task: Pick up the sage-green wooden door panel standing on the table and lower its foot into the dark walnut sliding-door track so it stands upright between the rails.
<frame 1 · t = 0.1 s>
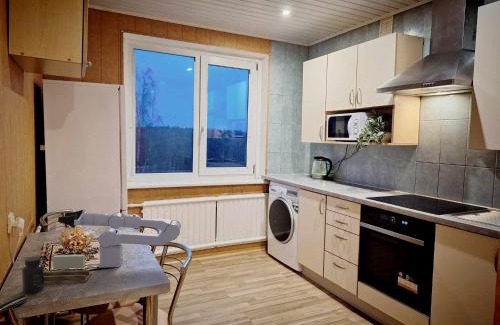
hand: (61, 217, 149), 22 cm above the table, tool horizontal, fingers open, 7 cm apart
door track: (64, 279, 137), on the table
door panel: (69, 269, 148), on the table
supplement bottle: (33, 290, 127), on the table
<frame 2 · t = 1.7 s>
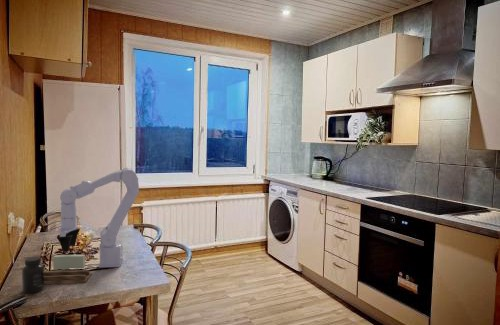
hand: (69, 248, 147), 9 cm above the table, tool pointing down, fingers open, 7 cm apart
nothing on the table moved.
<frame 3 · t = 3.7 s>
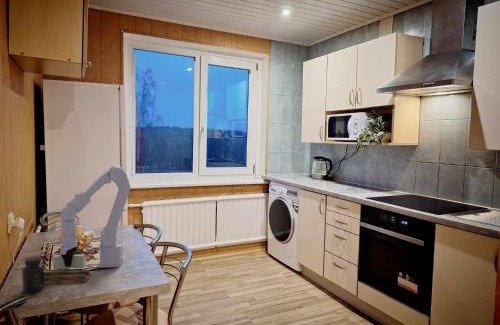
hand: (69, 265, 148), 2 cm above the table, tool pointing down, fingers closed on door panel, 2 cm apart
door panel: (69, 269, 148), on the table, touching gripper
everything else where it was.
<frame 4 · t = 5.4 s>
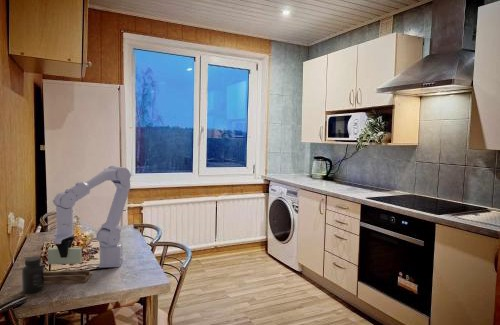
hand: (65, 256, 138), 9 cm above the table, tool pointing down, fingers closed on door panel
door panel: (65, 263, 138), point 6 cm above the table, touching gripper
everything else where it was.
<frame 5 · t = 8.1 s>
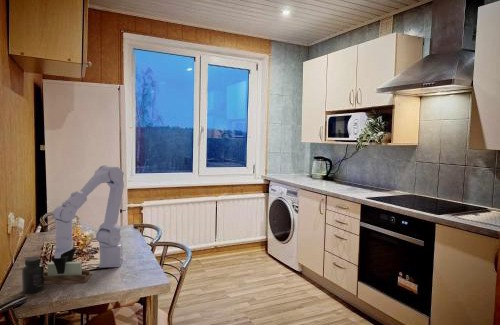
hand: (64, 269, 137), 4 cm above the table, tool pointing down, fingers open, 7 cm apart
door panel: (64, 277, 137), point 1 cm above the table, touching door track
everything else where it was.
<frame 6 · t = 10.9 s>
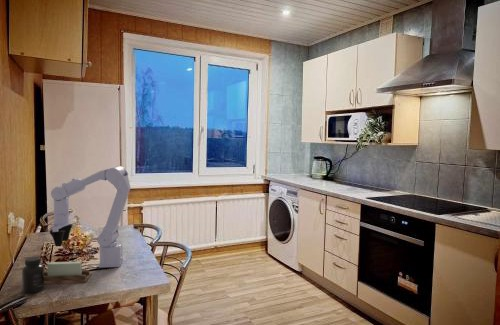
hand: (61, 243, 152), 9 cm above the table, tool pointing down, fingers open, 7 cm apart
nothing on the table moved.
at the end: door panel 0.1 cm off-centre on the door track, point 0.8 cm above the door track's base; door panel tilted 0°; the gripper is holding nothing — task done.
